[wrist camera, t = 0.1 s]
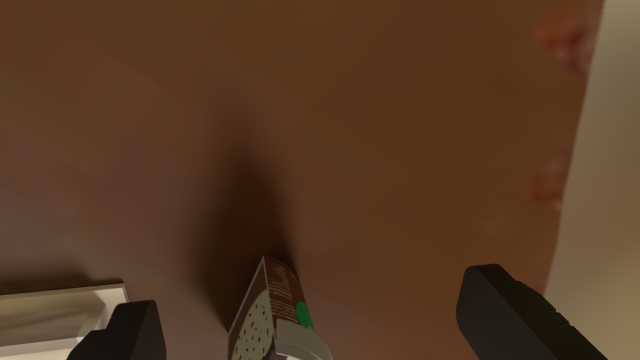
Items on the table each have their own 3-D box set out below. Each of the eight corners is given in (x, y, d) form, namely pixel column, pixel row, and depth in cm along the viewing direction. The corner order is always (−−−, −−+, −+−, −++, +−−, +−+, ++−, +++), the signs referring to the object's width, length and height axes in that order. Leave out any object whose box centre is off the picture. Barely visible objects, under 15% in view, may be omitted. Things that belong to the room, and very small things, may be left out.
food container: (284, 353, 36) (297, 470, 27) (223, 344, 34) (215, 468, 25) (337, 257, 31) (372, 359, 23) (269, 240, 29) (280, 346, 20)
